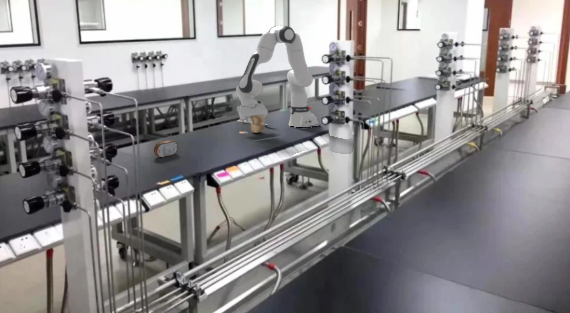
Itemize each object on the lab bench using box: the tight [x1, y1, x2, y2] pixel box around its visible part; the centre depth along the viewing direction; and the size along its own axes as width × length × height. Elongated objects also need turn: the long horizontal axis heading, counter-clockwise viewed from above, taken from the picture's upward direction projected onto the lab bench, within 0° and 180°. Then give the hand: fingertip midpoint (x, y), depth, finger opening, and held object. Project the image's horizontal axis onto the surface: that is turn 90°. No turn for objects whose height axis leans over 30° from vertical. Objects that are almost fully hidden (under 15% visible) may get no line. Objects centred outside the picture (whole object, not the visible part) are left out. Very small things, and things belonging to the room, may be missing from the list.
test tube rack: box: [236, 103, 269, 127], centre depth 366 cm, size 25×4×13 cm, turn 55°
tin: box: [153, 139, 179, 158], centre depth 281 cm, size 15×3×8 cm, turn 141°
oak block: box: [250, 115, 265, 133], centre depth 333 cm, size 6×6×10 cm
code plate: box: [238, 130, 249, 134], centre depth 335 cm, size 21×14×1 cm, turn 112°
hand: (257, 122), depth 333 cm, fingers closed on oak block, 6 cm apart
